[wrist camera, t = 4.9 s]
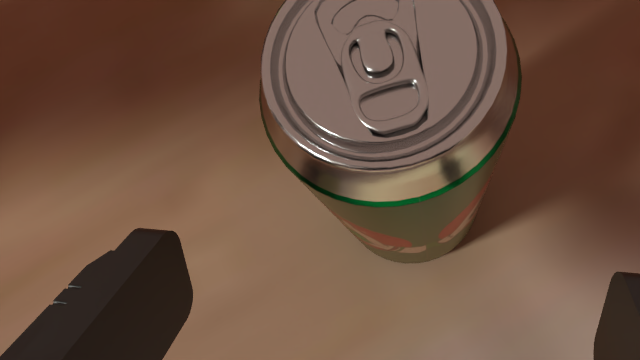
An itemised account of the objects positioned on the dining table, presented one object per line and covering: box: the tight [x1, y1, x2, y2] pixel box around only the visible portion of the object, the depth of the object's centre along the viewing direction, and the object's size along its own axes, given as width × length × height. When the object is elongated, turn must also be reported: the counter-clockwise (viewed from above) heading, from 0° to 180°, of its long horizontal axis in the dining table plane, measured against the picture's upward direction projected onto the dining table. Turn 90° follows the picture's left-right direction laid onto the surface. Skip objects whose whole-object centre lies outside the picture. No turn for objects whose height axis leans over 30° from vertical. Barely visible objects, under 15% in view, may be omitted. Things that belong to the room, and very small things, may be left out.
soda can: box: [259, 0, 522, 263], centre depth 15 cm, size 5×5×12 cm
